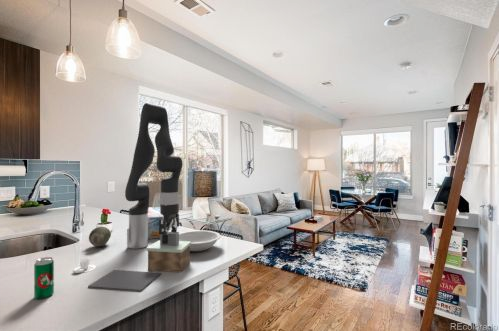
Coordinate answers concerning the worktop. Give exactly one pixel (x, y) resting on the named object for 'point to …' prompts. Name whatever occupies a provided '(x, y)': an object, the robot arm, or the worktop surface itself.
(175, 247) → the lid
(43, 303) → the worktop surface
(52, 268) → the soda can
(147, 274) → the rubber mat
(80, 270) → the teacup and saucer
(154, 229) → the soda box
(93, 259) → the worktop surface
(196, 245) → the white sink basin
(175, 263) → the walnut box
